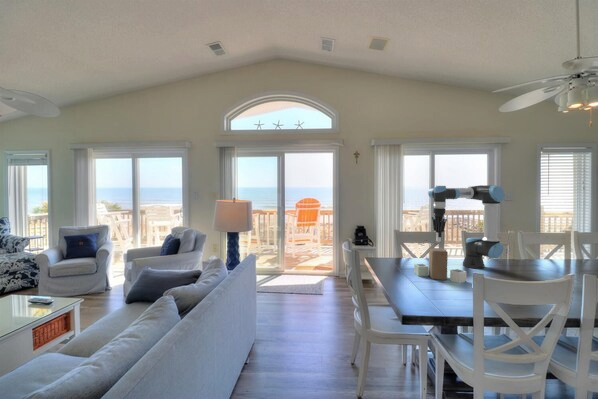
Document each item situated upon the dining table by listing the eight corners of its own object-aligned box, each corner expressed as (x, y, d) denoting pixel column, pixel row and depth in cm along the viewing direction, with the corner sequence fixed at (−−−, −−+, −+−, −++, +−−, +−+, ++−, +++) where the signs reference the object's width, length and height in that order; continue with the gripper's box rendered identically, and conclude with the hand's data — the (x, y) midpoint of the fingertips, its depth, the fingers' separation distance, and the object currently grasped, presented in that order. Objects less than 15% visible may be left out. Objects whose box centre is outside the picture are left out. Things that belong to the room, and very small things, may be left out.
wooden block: (447, 280, 210) (448, 251, 209) (431, 279, 212) (432, 250, 211) (443, 276, 220) (444, 248, 219) (428, 275, 222) (429, 247, 221)
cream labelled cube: (456, 278, 214) (456, 268, 213) (466, 281, 207) (466, 271, 207) (450, 280, 210) (450, 269, 210) (459, 283, 204) (459, 272, 204)
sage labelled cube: (423, 273, 227) (423, 263, 226) (428, 276, 220) (428, 266, 219) (414, 273, 226) (414, 263, 226) (418, 276, 219) (418, 266, 219)
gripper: (428, 207, 219) (427, 240, 220) (441, 208, 206) (440, 243, 207) (437, 207, 220) (436, 239, 221) (450, 208, 208) (449, 243, 209)
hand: (438, 241), depth 214 cm, fingers closed
